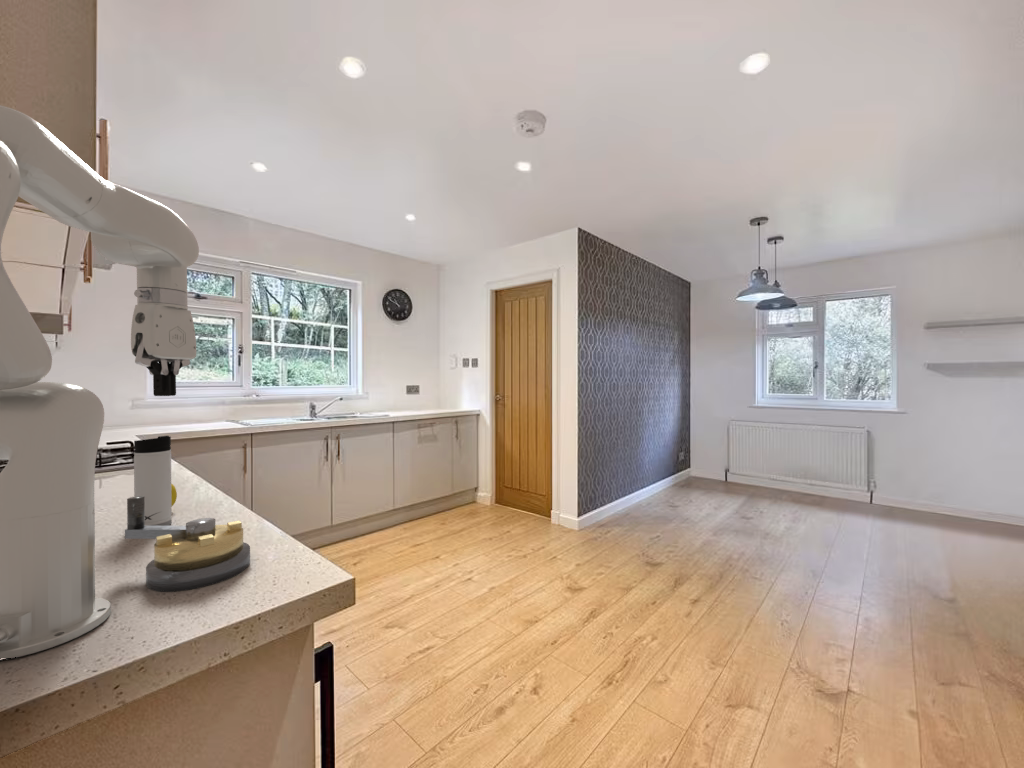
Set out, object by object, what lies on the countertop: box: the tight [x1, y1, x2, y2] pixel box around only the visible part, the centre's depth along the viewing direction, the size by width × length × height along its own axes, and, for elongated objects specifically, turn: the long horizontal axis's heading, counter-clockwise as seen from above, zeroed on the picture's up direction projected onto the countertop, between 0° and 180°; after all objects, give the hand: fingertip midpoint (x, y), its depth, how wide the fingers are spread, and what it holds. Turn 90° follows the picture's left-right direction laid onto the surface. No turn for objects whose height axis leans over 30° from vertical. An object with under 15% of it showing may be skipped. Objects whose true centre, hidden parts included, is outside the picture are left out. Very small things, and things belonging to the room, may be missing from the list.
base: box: [145, 541, 251, 593], centre depth 71 cm, size 14×14×2 cm
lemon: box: [171, 483, 178, 507], centre depth 103 cm, size 6×6×8 cm
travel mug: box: [133, 435, 173, 526], centre depth 94 cm, size 6×7×20 cm
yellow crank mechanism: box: [124, 496, 244, 570], centre depth 71 cm, size 18×12×10 cm, turn 89°
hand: (164, 395), depth 83 cm, fingers closed
